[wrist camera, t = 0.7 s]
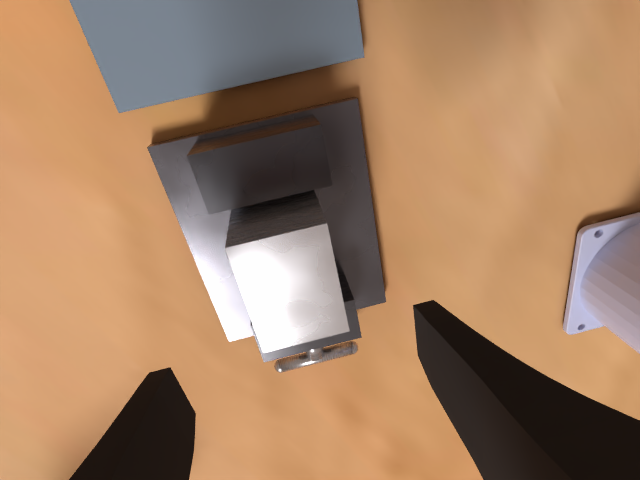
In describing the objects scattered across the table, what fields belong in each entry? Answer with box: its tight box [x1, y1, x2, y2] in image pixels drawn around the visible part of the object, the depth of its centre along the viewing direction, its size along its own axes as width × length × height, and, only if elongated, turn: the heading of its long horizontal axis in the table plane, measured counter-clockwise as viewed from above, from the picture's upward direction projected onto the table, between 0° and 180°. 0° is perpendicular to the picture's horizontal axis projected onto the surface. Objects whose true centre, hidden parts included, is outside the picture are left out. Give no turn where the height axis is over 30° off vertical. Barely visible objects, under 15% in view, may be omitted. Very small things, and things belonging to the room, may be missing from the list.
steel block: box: [225, 190, 350, 353], centre depth 16 cm, size 4×5×5 cm
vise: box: [147, 97, 386, 373], centre depth 18 cm, size 9×13×3 cm
